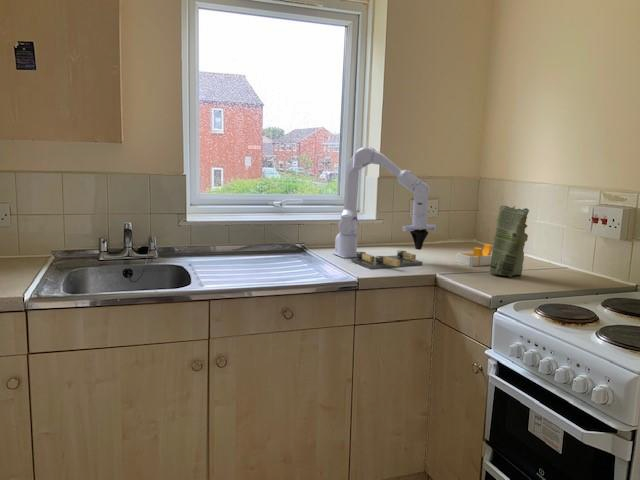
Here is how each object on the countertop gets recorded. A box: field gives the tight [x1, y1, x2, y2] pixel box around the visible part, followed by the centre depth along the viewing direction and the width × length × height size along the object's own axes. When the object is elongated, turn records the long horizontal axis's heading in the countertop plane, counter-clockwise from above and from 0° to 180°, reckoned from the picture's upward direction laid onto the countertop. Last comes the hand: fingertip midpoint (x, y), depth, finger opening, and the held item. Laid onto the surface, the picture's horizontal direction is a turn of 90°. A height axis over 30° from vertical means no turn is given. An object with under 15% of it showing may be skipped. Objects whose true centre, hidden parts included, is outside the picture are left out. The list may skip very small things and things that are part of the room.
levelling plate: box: [351, 254, 423, 270], centre depth 218 cm, size 14×23×2 cm, turn 116°
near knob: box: [375, 255, 400, 266], centre depth 210 cm, size 10×4×2 cm, turn 46°
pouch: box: [489, 205, 530, 278], centre depth 202 cm, size 11×12×25 cm
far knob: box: [396, 250, 417, 261], centre depth 221 cm, size 10×4×2 cm, turn 26°
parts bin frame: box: [455, 250, 493, 267], centre depth 225 cm, size 9×17×4 cm, turn 116°
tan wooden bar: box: [355, 251, 375, 262], centre depth 216 cm, size 10×4×2 cm, turn 26°
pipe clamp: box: [473, 243, 493, 267], centre depth 225 cm, size 12×4×6 cm, turn 143°
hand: (418, 249), depth 221 cm, fingers closed
